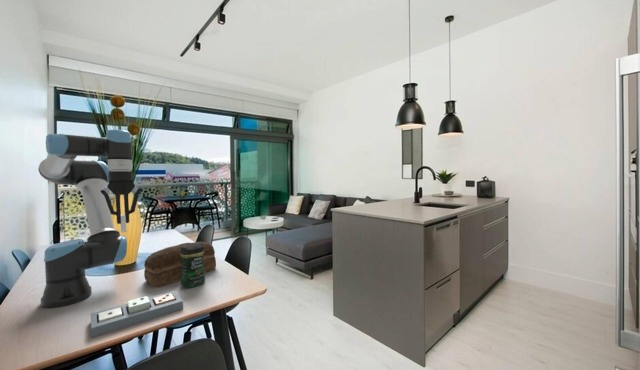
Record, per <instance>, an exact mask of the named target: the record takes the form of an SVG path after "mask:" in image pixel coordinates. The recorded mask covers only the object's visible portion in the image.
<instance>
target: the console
mask: <svg viewBox="0 0 640 370" xmlns="http://www.w3.org/2000/svg"><path fill="white" fill-rule="evenodd" d="M170 293H171V294H172V295H173V297H174V298H175V301H171V302H168V303H164V304H161V305H158V306H155V305H154V300H153V298H156V297H159V296H163V295H166V294H170ZM148 299H149V301H150V308H147V309H144V310H140V311H137V312H134V313H130V314H129V311H128V305H127V303H123V304H121V305H120V304H119V305H117V306H113V307H109V308H105V309H102V310H98V311H94V312H91V313H90V332H91V333H90V334H91V338H94V337H99V336H101V335H104V334H108V333H112V332H114V331H117V330H120V329H124V328H126V327H130V326H134V325H136V324H137V325H138V324H140V323H143V322H146V321H149V320H153V319H155V318H158V317H162V316H165V315H167V314H171V313H174V312H177V311H181V310H184V301H183V299H182V298H181V296H180V295H179V294H178V292H177V290H172V291H169V292H164V293H161V294H157V295H154V296H150V297H148ZM120 307H121V311H122V316H120V317H117V318H113V319H110V320H106V321H103V322H99V313H101V312H105V311H109V310H112V309H116V308H120Z"/></svg>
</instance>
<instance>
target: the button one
mask: <svg viewBox="0 0 640 370" xmlns="http://www.w3.org/2000/svg"><path fill="white" fill-rule="evenodd" d="M120 316H122V311H121V307H120V308H116V309H112V310H109V311H105V312H101V313H99V322H103V321H106V320H110V319H113V318H117V317H120Z"/></svg>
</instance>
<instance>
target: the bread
mask: <svg viewBox="0 0 640 370" xmlns="http://www.w3.org/2000/svg"><path fill="white" fill-rule="evenodd" d="M195 243H201V244H203V247H204V254H203V268H204V273H206V272H209V271H212V270H215V269H216V267H217V259H216V256H215V253H216V252H215V248H214V246H213V245H212V244H211V243H208V242H205V241H194V242H183V243H180V244H176V245H173V246H168V247H164V248H163V249H160V250H157V251H154V252H153V253H151V254H150V255H148V256H147V258H146V259H145V260H144V265H143V266H144V271H143V272H144V274H143V276H144V280H145V281H146V282H147V283H148V284H149V285H150V286H153V287H156V288H159V287H162V286H166V285H168V284H169V285H170V284H172V283H176V282H178V281H181V275H182V258H181V256H180V251H181V247H182V246H185V245H190V244H195Z"/></svg>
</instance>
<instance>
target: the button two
mask: <svg viewBox="0 0 640 370" xmlns="http://www.w3.org/2000/svg"><path fill="white" fill-rule="evenodd" d="M148 298H149V297H148V296H147V295H146V296H141V297H139V298H134V299H130V300H128V301H127V303H126V304H127V305H128V311H129V314H130V313H134V312H137V311H140V310H144V309H147V308H150V301H149V299H148Z"/></svg>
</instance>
